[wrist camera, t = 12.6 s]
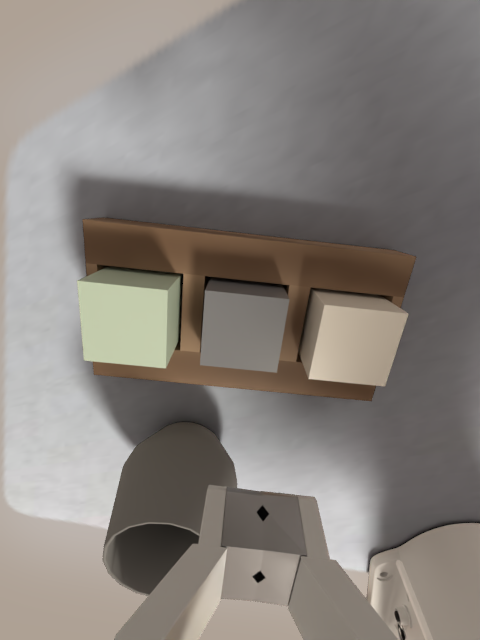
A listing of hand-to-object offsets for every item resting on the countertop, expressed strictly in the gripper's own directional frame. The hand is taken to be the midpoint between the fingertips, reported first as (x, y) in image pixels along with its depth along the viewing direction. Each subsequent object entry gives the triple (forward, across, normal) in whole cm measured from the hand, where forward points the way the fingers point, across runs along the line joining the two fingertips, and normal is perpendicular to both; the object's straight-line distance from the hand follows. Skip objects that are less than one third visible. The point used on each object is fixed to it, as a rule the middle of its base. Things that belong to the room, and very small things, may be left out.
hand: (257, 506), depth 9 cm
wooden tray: (+16, +1, -1) cm, 16 cm away
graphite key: (+15, +1, -1) cm, 15 cm away
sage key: (+14, +8, -1) cm, 16 cm away
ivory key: (+15, -6, -1) cm, 16 cm away
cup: (+17, +5, +14) cm, 22 cm away
